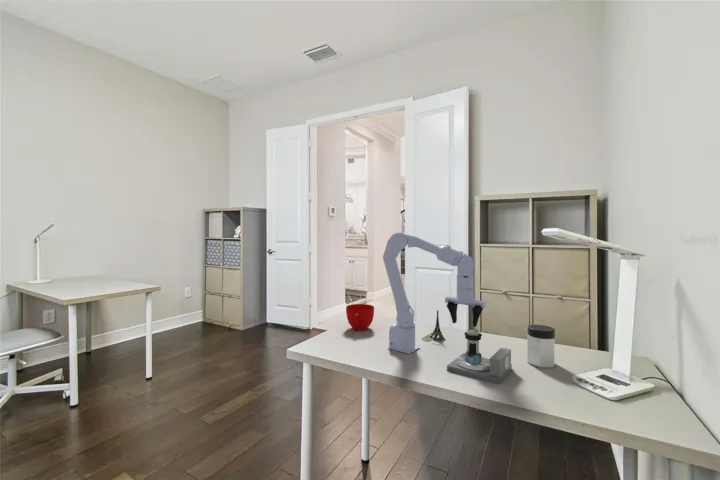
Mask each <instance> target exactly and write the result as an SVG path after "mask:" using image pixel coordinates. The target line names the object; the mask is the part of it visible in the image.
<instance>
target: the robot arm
mask: <svg viewBox="0 0 720 480" xmlns="http://www.w3.org/2000/svg"><path fill="white" fill-rule="evenodd" d="M406 246H407V248H418V249H420V250H422V251H426V252H428V253H431V254H433V255H435V257H436V259H437V261H440V262H443V263H445V264H448V265H450V266H452V267H457V269H456V271H457V274H456V297H455V296H446V297H444V303H445V304H446V308H447V310H448V312H449V315H450V317H451V321H452V324H456V323H457V321H458V318H457V317H458V316H457V314H458V313H457V312H458V306H459V305H462V306H463V305H464V306H471V310H472V326H473V328H475V327H477V326H478V322H479V318H480V316H481V314H482V312H483V310H484V309H485V308H486V307H487V305H486V304H487V302H486V301H485V300H479V299H475V298H474V275H473V274H474V270H473V269H474V268H475V265H476V263H475V260H474V258H473V257H472V256H470V255H468V254H466V253H464V251H462V250H460V251H459V250H456V249H453V248H451V247H452V246H451V245H449V244H447V246H446V245H441V246H438V245H435V244H433V243H430V242H428V241H426V240H424V239H421V238H419V237H417V236H414V235H411V234H405V233H404V232H403V233H402V232H395V233H393V234H392V235H391V236H390V238H389V239H388V240H387V242H386V246H385V249H384V252H383V255H382V260H383V263H384V267H385V270H386V274H387V278H388V281H389V284H390V288H391V291H392V295H393V299H394V302H395V303H394V304H395V310H396V318H395V319H396V320H395V321H396V323H392V324H391V325H390V327H389V330H388V331H389V332H388V333H389V334H388V347H387V349H389V350H394V351H396V352H401V353H405V354H409V355H410V354H412V353H414V352H415V351H417V350H419V349H420V346H418V345H416V324H415V323H414V322H415V321H414V320H415V318H414V317H415V311H414V309H413V308H412V307H411V305H410V302H409V300H408V297H407V293H406V291H405V286H404V282H403V279H402V275H401V272H400V269H399V265H398V261H397V258H398V256H399V255H400V252H401V251H402V250H404V248H406Z"/></svg>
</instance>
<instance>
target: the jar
mask: <svg viewBox="0 0 720 480" xmlns="http://www.w3.org/2000/svg"><path fill="white" fill-rule="evenodd" d="M555 338H556V329H555V328H554V327H552V326H550V325H549V326H548V325H541V324H530V325H528V326H527V353H526V355H527V357H526V358H527V359H526V360H527V362H526V363H528V364H529V365H531V366H535V367H538V368H541V369H542V368H555V342H556V341H555V340H556V339H555Z"/></svg>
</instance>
